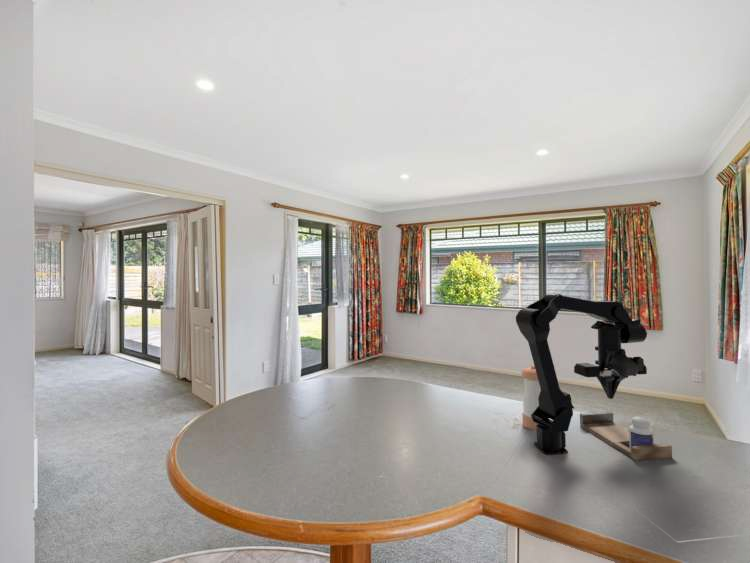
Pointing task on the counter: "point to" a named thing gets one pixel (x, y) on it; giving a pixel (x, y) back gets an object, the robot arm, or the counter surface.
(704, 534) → the counter surface
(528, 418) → the pepper shaker
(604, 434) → the brown long shallow piece
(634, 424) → the pill bottle
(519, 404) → the counter surface
